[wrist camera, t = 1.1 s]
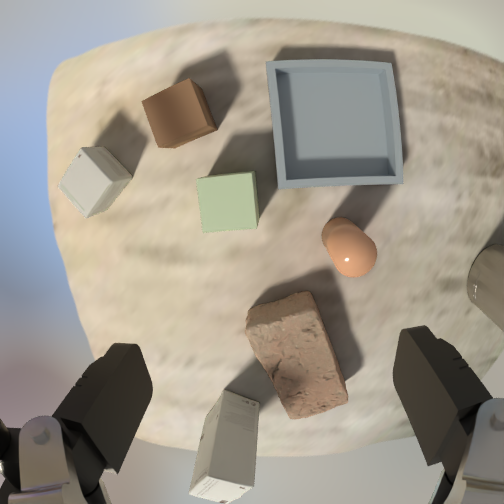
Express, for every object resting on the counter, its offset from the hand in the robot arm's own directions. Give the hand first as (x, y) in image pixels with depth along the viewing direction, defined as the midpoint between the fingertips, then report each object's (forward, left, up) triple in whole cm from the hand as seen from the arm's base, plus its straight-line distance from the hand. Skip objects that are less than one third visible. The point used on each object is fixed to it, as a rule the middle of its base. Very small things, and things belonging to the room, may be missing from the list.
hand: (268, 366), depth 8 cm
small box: (+19, -6, -25) cm, 32 cm away
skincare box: (+8, +29, -25) cm, 39 cm away
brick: (-2, +18, -25) cm, 31 cm away
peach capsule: (-7, +3, -24) cm, 26 cm away
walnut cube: (+8, -11, -25) cm, 28 cm away
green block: (+4, -2, -25) cm, 25 cm away
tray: (-7, -9, -24) cm, 27 cm away
